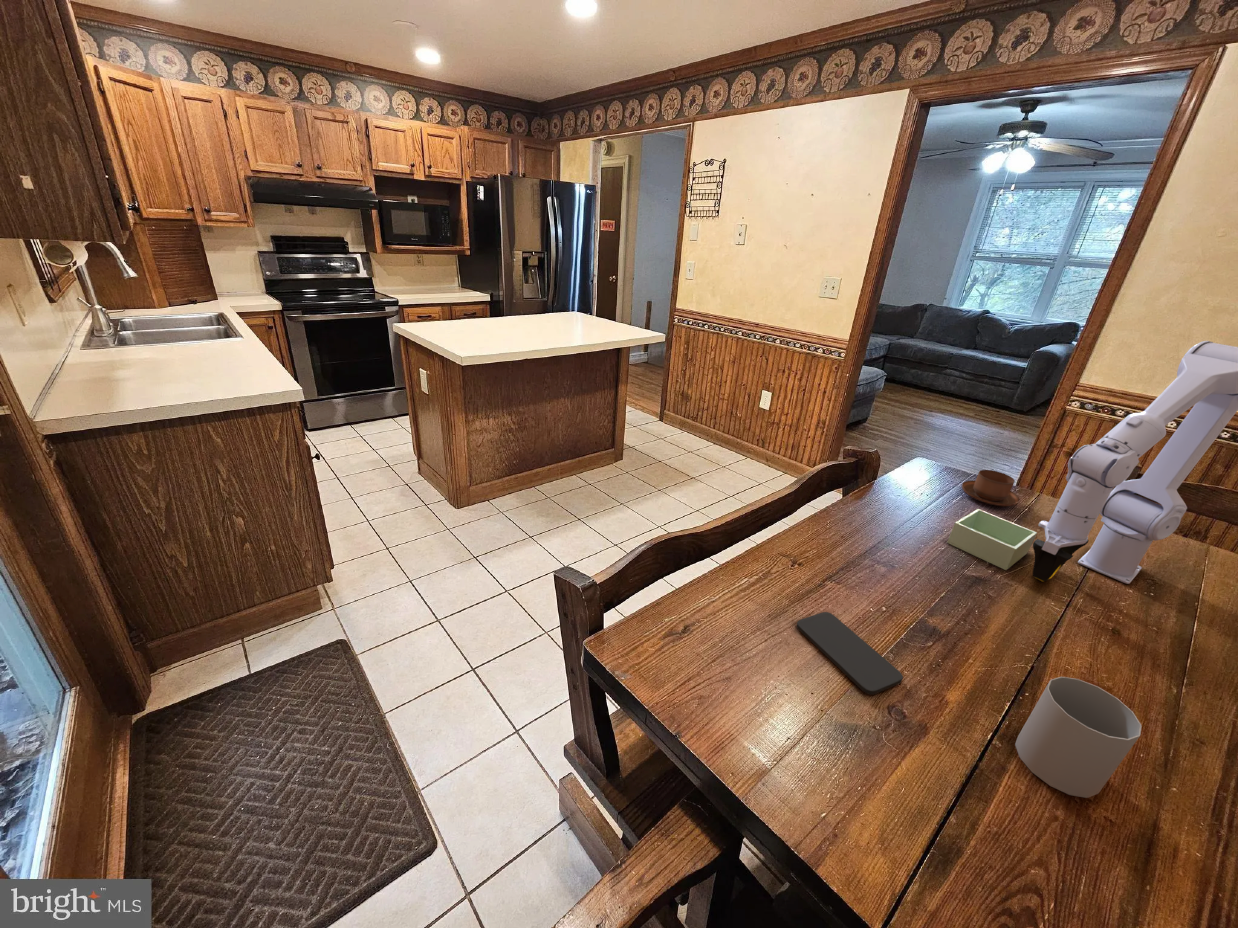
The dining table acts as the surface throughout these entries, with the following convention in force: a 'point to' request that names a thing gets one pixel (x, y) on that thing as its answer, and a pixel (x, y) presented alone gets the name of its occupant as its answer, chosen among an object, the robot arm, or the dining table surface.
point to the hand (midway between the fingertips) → (1045, 572)
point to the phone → (850, 653)
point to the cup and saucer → (992, 488)
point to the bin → (991, 538)
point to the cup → (1077, 736)
